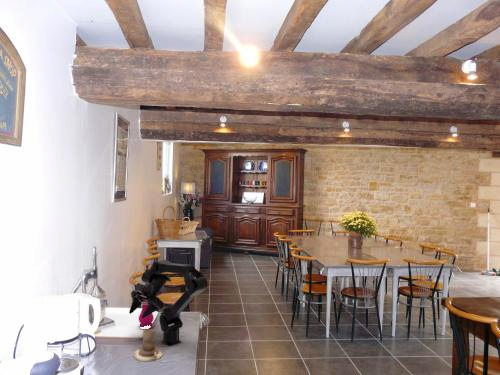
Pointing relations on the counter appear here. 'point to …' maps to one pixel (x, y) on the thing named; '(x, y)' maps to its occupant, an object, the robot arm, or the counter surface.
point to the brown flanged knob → (148, 343)
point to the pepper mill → (147, 319)
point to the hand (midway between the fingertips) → (135, 315)
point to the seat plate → (149, 358)
